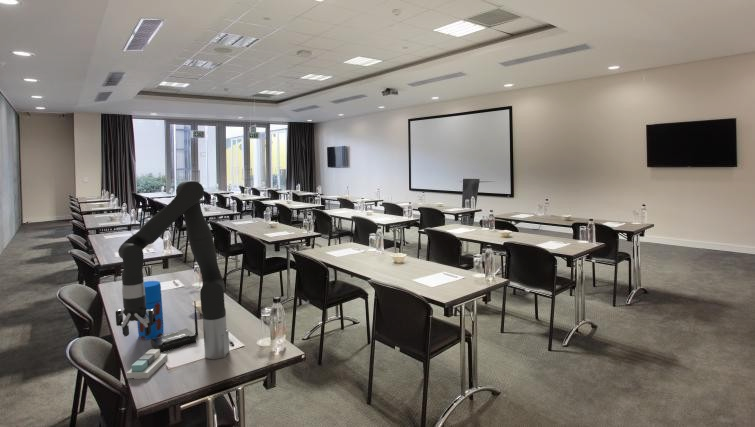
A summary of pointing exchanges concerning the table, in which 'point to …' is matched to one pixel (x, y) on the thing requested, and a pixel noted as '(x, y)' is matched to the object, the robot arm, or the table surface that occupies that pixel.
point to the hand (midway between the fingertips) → (137, 335)
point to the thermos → (152, 303)
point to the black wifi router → (175, 338)
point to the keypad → (148, 368)
